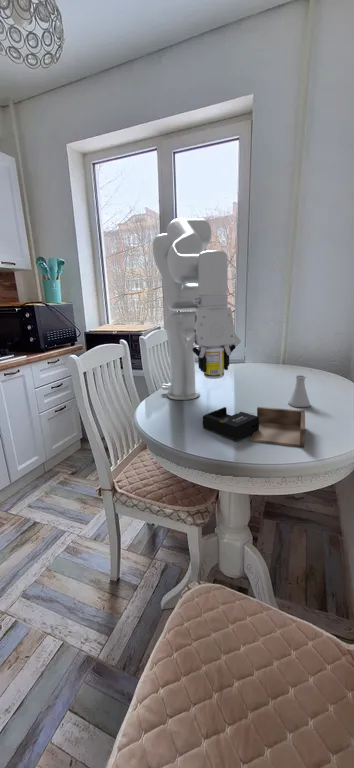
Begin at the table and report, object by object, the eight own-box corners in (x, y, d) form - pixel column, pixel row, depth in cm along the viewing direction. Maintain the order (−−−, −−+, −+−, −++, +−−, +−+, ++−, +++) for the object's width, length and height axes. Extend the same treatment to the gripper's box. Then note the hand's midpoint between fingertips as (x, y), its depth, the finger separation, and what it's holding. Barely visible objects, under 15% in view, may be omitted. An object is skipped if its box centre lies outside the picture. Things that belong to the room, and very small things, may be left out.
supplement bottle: (215, 373, 91) (214, 337, 89) (228, 376, 87) (228, 339, 84) (199, 376, 89) (198, 339, 86) (212, 380, 84) (211, 341, 81)
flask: (306, 400, 112) (308, 373, 109) (313, 408, 105) (315, 378, 102) (285, 401, 113) (287, 373, 110) (290, 408, 106) (292, 379, 103)
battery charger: (259, 429, 89) (259, 416, 88) (236, 441, 83) (236, 427, 82) (225, 418, 99) (224, 406, 98) (202, 428, 93) (201, 415, 92)
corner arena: (250, 441, 84) (251, 423, 82) (257, 422, 96) (257, 406, 94) (303, 447, 79) (305, 429, 78) (303, 427, 91) (304, 410, 90)
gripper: (184, 304, 77) (187, 376, 82) (250, 300, 81) (248, 370, 85) (177, 303, 84) (180, 370, 89) (238, 300, 88) (237, 364, 93)
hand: (214, 369), depth 87 cm, fingers closed on supplement bottle, 5 cm apart
